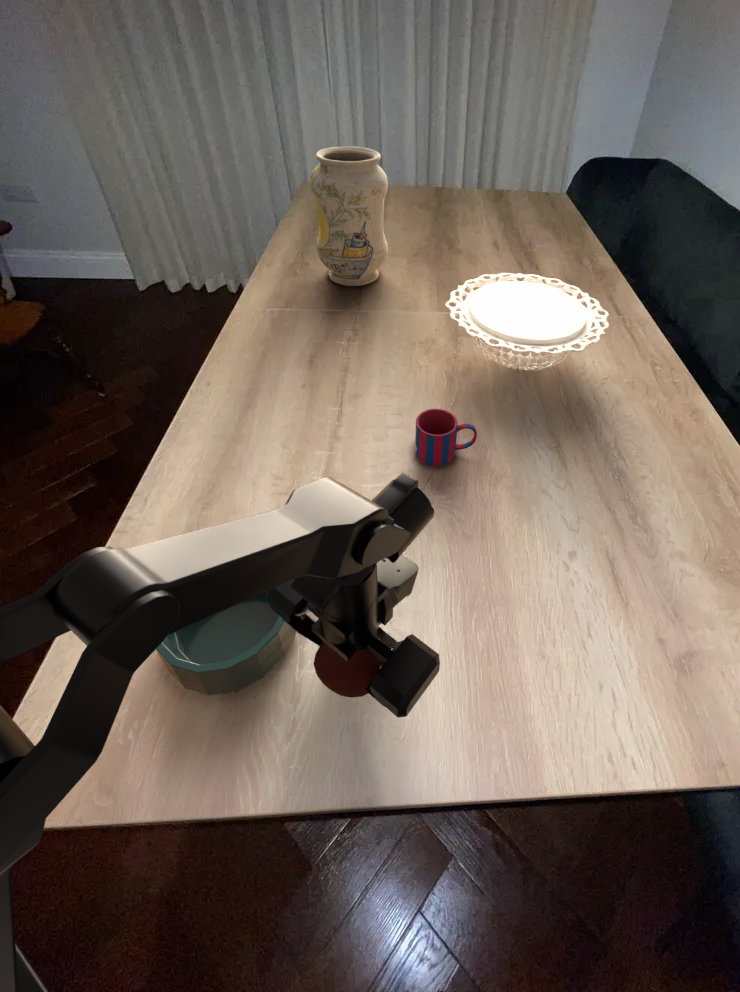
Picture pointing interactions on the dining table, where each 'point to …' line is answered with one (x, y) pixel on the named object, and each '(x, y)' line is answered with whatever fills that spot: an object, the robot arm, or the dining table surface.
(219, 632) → the bowl
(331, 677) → the potato
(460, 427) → the mug
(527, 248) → the dining table surface
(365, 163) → the vase
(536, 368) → the white lattice bowl
